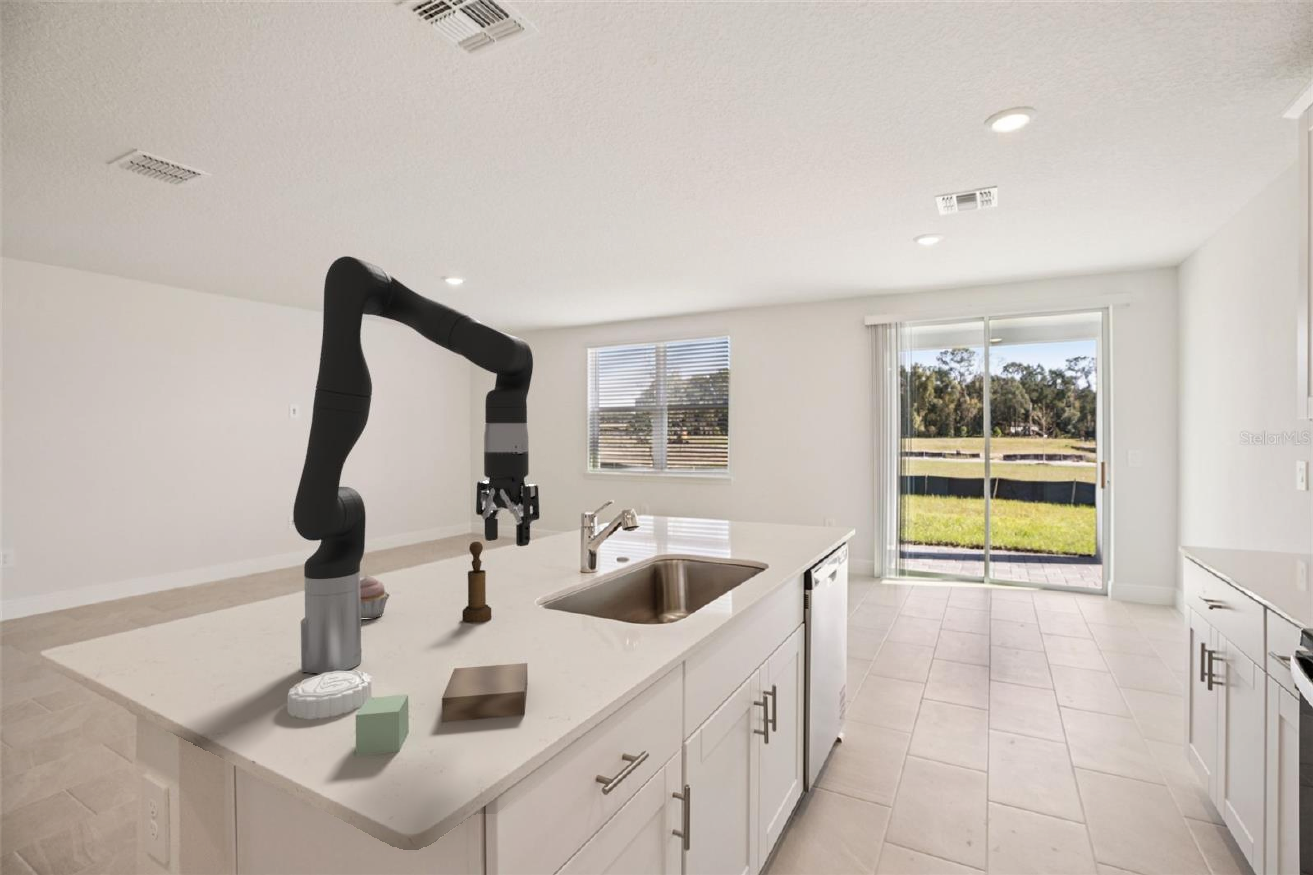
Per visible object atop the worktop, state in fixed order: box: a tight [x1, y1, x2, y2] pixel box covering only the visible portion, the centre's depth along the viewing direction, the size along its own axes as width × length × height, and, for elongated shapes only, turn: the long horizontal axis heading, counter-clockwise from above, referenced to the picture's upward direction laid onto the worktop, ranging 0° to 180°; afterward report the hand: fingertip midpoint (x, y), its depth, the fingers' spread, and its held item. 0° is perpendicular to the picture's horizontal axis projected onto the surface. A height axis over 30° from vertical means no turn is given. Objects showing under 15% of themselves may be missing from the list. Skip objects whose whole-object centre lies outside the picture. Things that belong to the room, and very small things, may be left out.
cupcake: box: [360, 574, 391, 619], centre depth 148 cm, size 9×9×10 cm
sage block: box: [355, 694, 410, 756], centre depth 86 cm, size 6×6×6 cm
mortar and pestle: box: [461, 541, 493, 624], centre depth 144 cm, size 7×6×18 cm
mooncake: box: [287, 670, 373, 720], centre depth 100 cm, size 12×12×4 cm
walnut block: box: [441, 662, 529, 723], centre depth 99 cm, size 12×12×4 cm
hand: (506, 542), depth 107 cm, fingers open, 8 cm apart
